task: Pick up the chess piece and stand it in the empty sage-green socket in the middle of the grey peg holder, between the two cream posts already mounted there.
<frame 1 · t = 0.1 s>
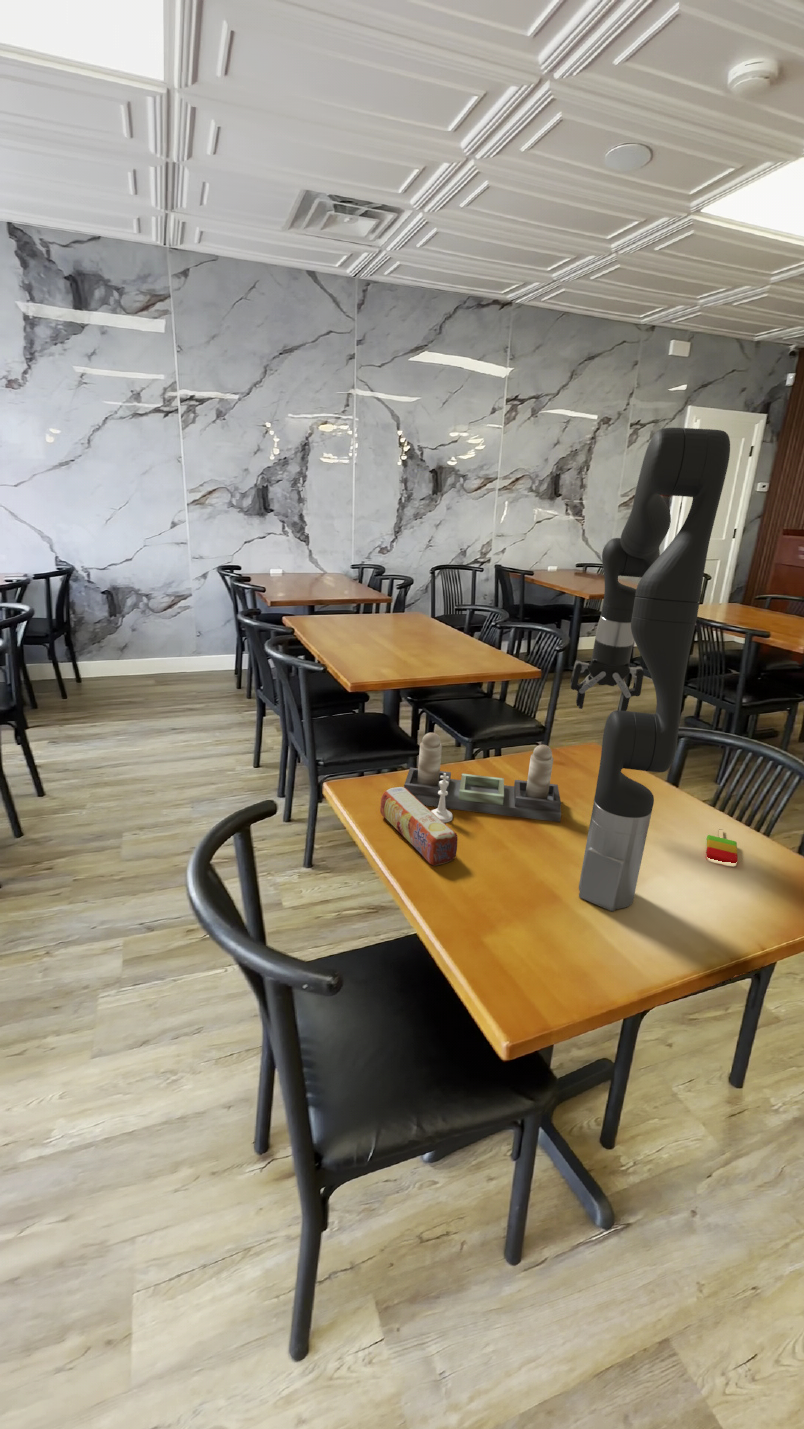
hand: (600, 709, 140), 22 cm above the table, tool pointing down, fingers open, 8 cm apart
grey peg holder: (480, 800, 145), on the table
popsicle: (720, 850, 132), on the table
chess piece: (440, 817, 137), on the table
snack package: (416, 839, 128), on the table
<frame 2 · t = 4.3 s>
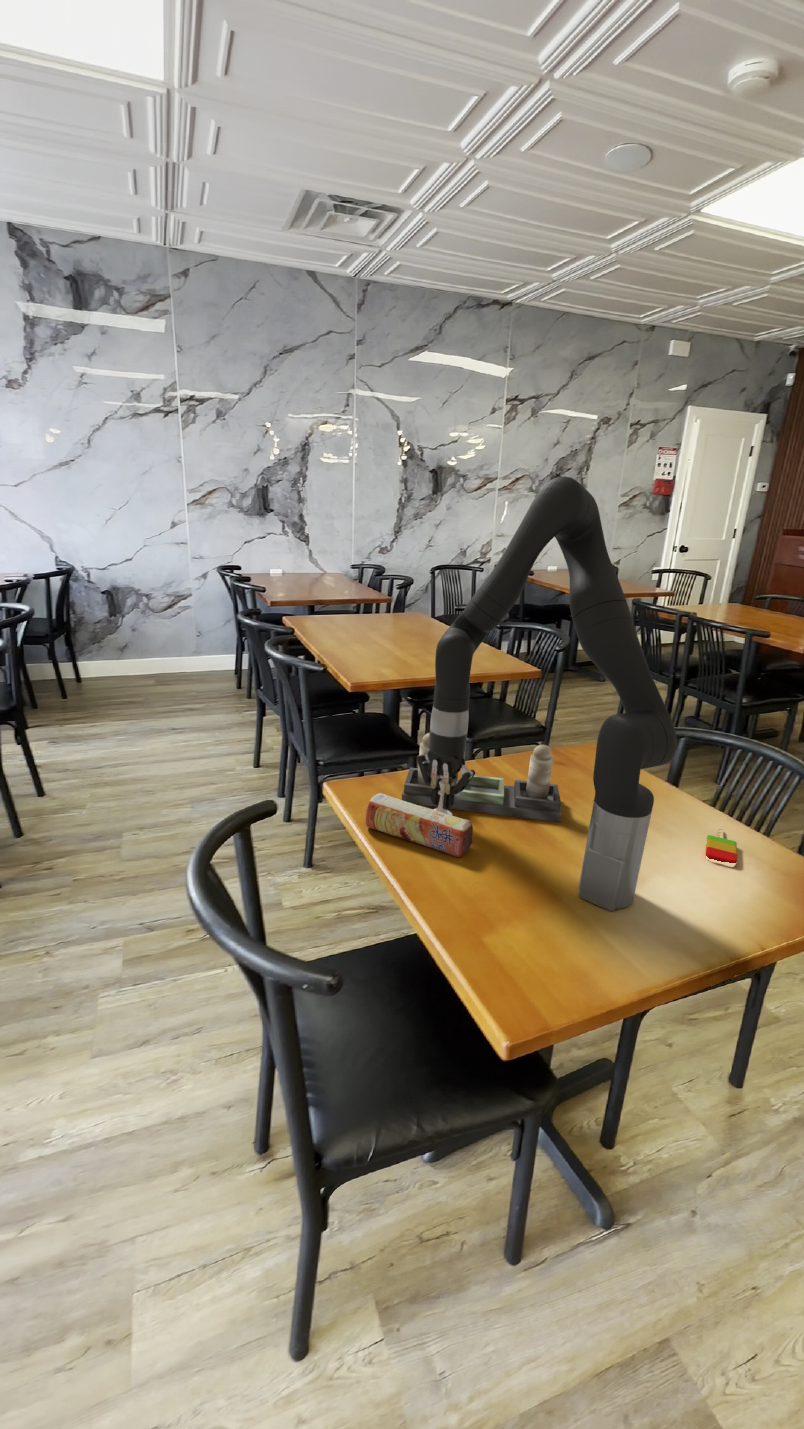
hand: (441, 805, 136), 3 cm above the table, tool pointing down, fingers closed on chess piece
chess piece: (440, 817, 137), on the table, touching gripper
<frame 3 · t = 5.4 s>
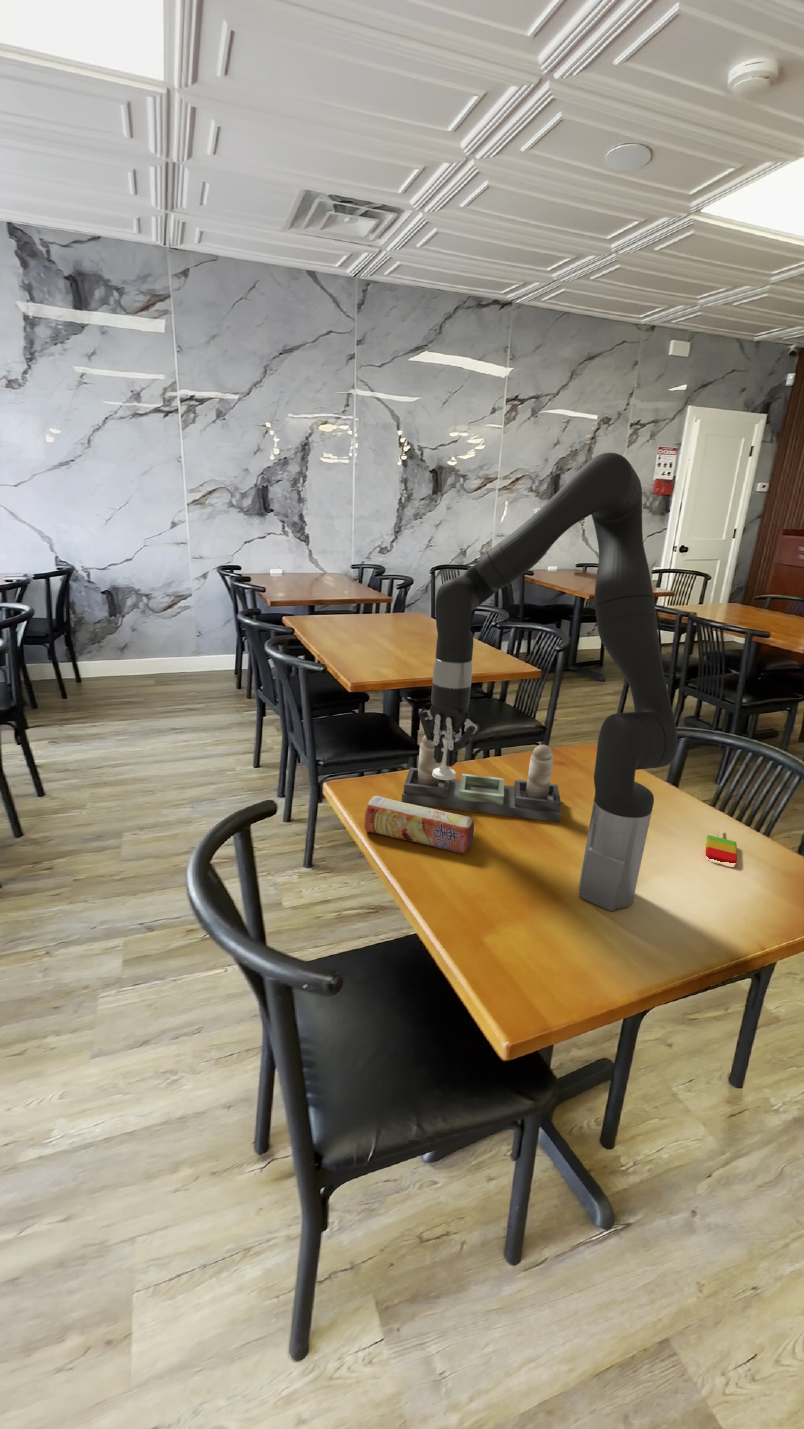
hand: (444, 763, 132), 12 cm above the table, tool pointing down, fingers closed on chess piece
chess piece: (444, 776, 133), point 10 cm above the table, touching gripper
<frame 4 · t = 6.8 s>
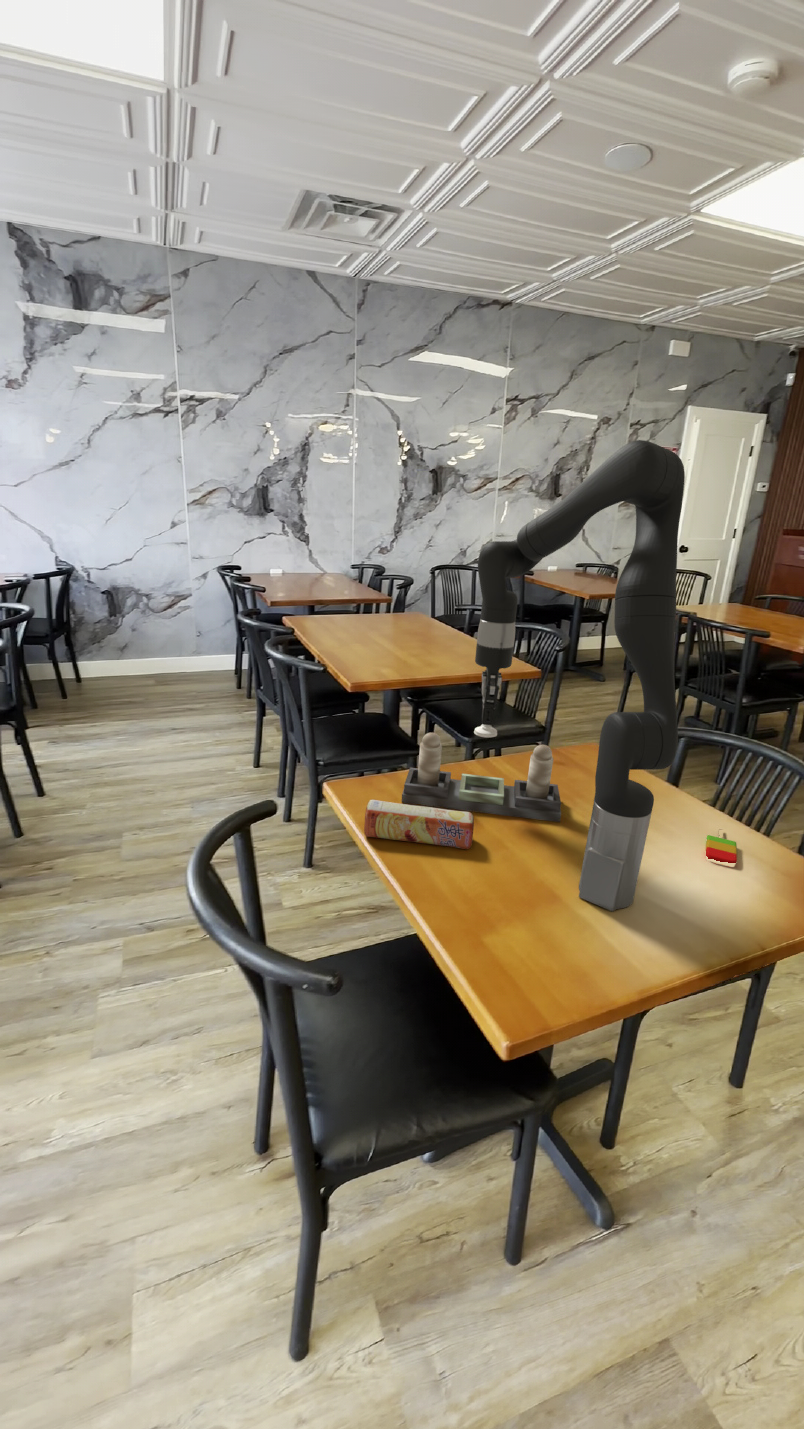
hand: (486, 721, 138), 19 cm above the table, tool pointing down, fingers closed on chess piece
chess piece: (485, 734, 139), point 16 cm above the table, touching gripper
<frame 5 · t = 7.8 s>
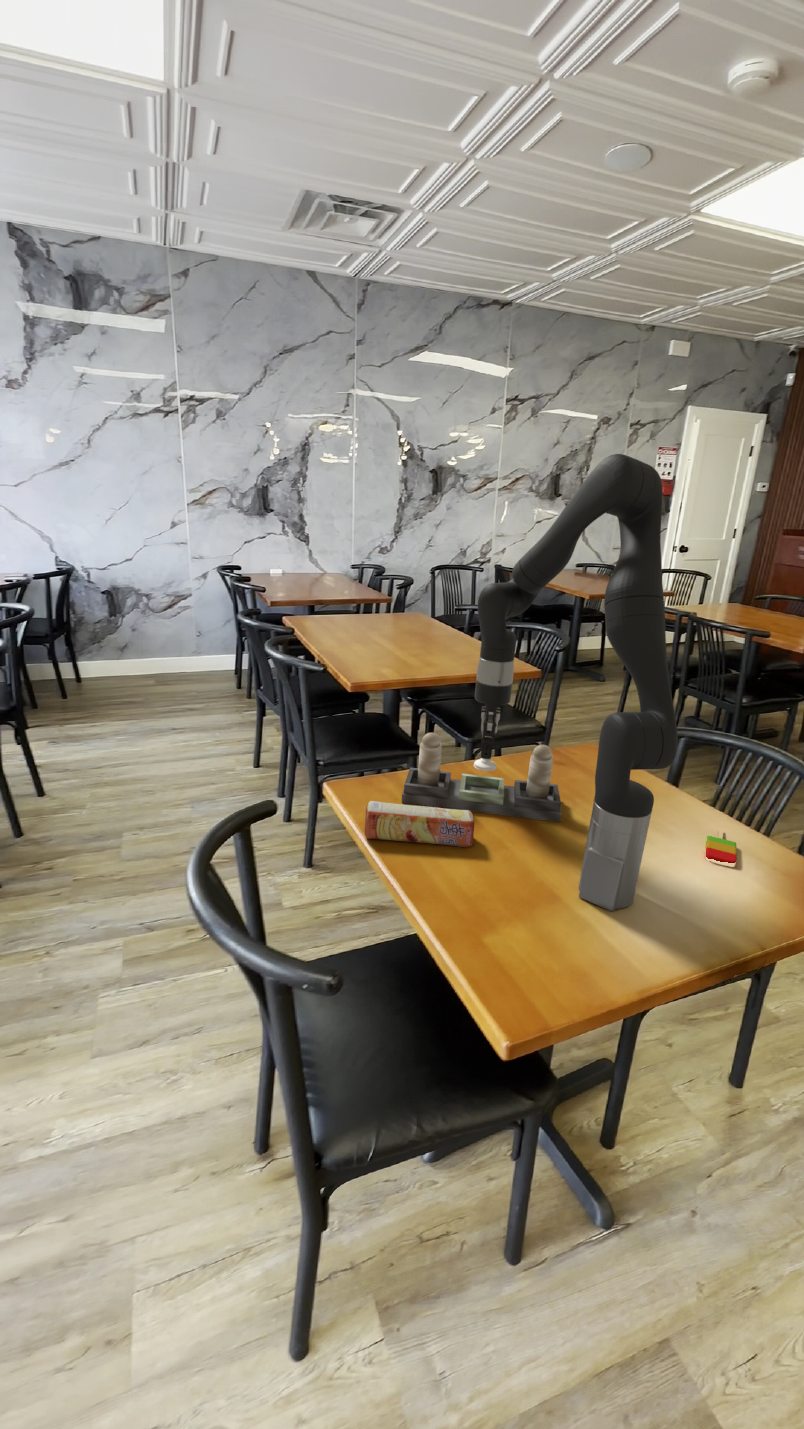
hand: (486, 755, 141), 11 cm above the table, tool pointing down, fingers closed on chess piece
chess piece: (484, 767, 142), point 8 cm above the table, touching gripper
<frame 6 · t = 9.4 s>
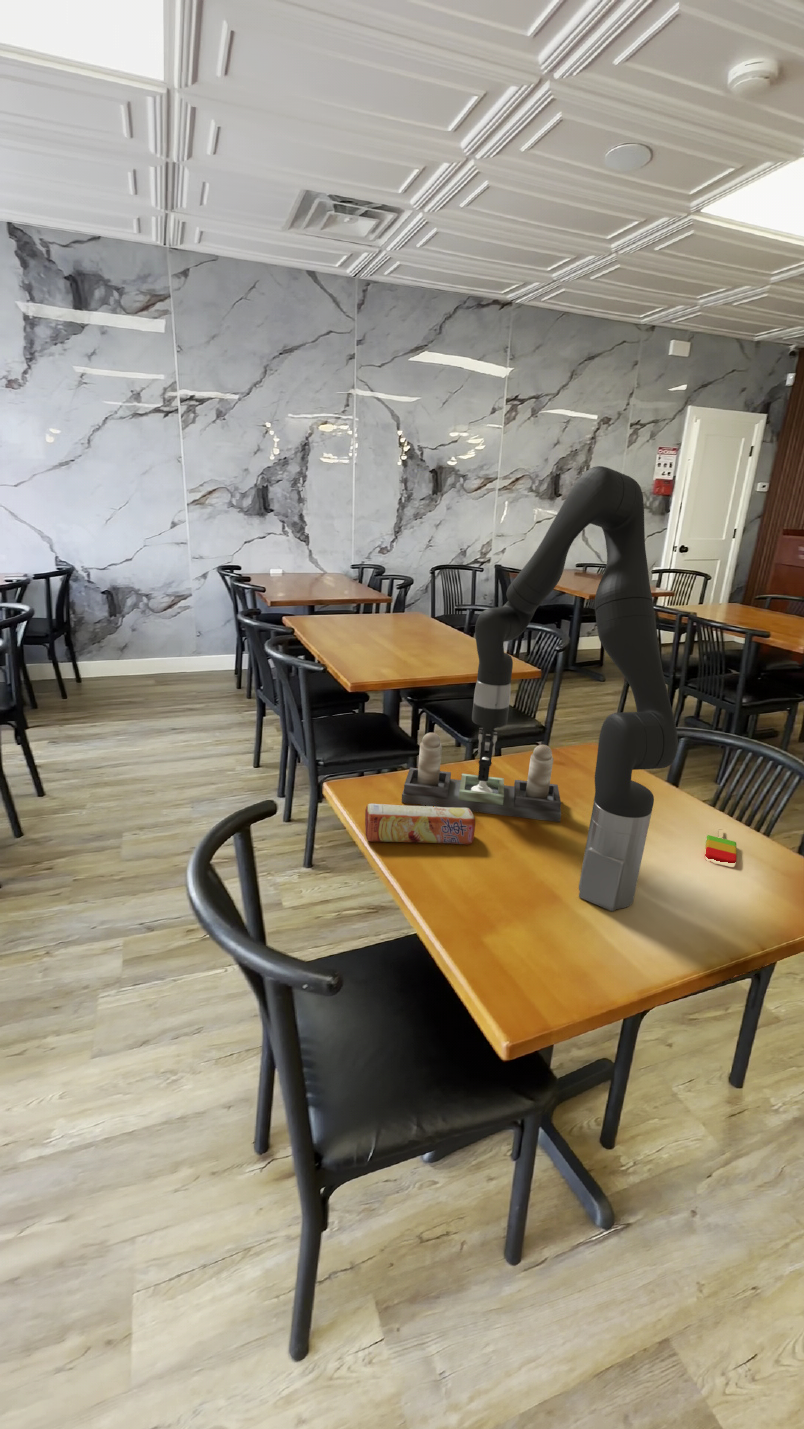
hand: (483, 774, 143), 6 cm above the table, tool pointing down, fingers open, 5 cm apart
chess piece: (481, 793, 144), point 2 cm above the table, touching grey peg holder
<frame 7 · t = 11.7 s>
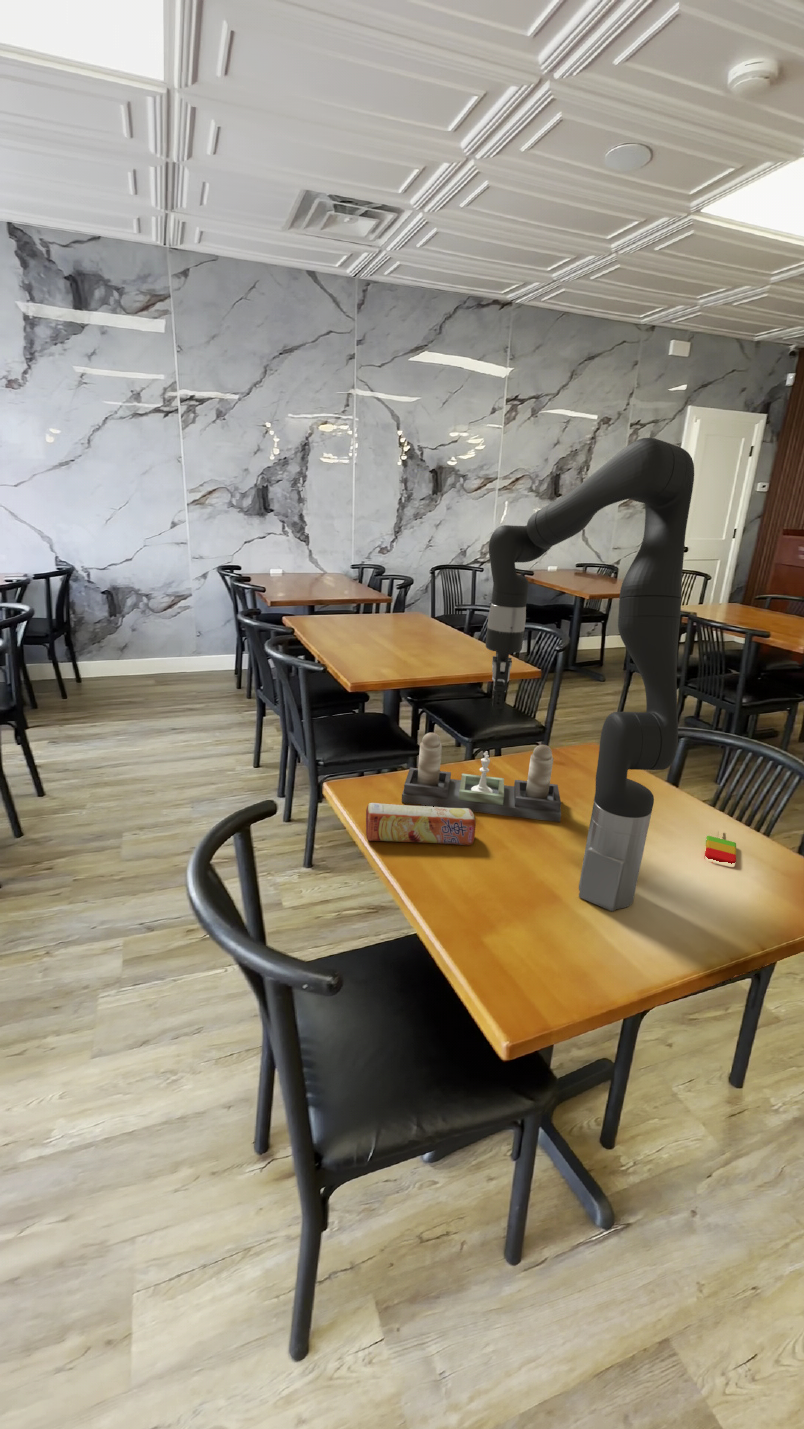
hand: (497, 702, 138), 23 cm above the table, tool pointing down, fingers open, 8 cm apart
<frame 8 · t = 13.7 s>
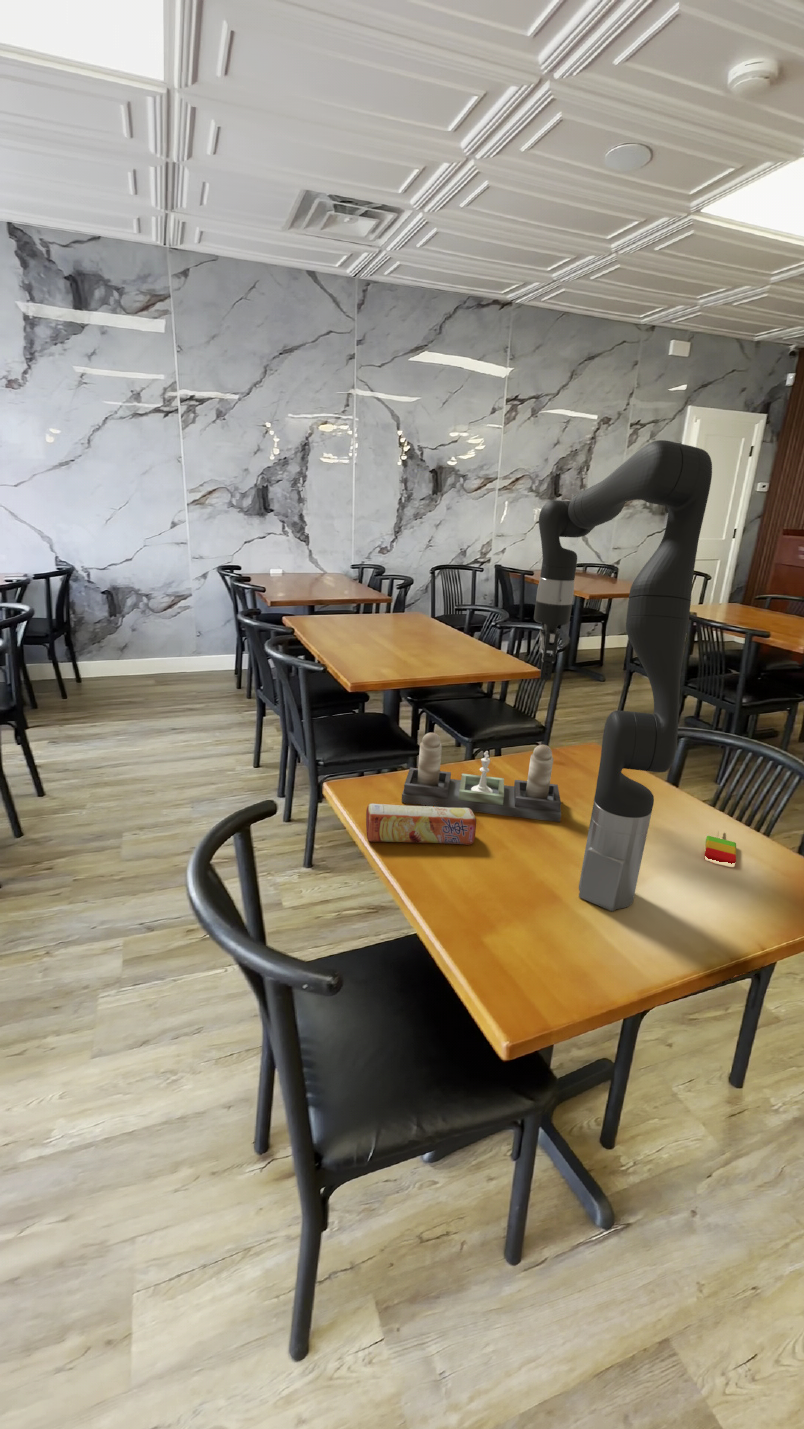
hand: (544, 674, 143), 28 cm above the table, tool pointing down, fingers open, 8 cm apart
at the end: chess piece 0.1 cm off-centre on the grey peg holder, point 1.8 cm above the grey peg holder's base; chess piece tilted 1°; the gripper is holding nothing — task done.
